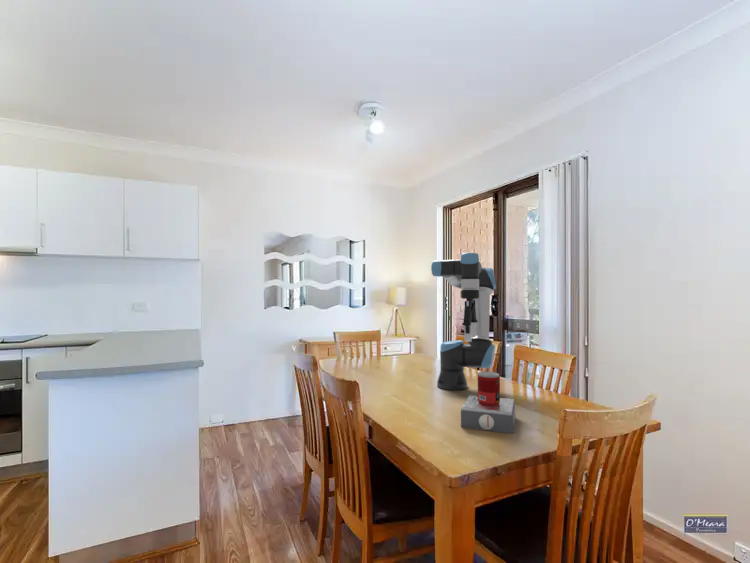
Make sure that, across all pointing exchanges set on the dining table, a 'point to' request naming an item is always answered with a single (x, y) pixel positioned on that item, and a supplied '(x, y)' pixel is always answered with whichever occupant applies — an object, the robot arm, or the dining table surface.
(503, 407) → the scale pan
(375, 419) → the dining table surface
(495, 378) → the canned food
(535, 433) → the dining table surface
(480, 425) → the scale base
